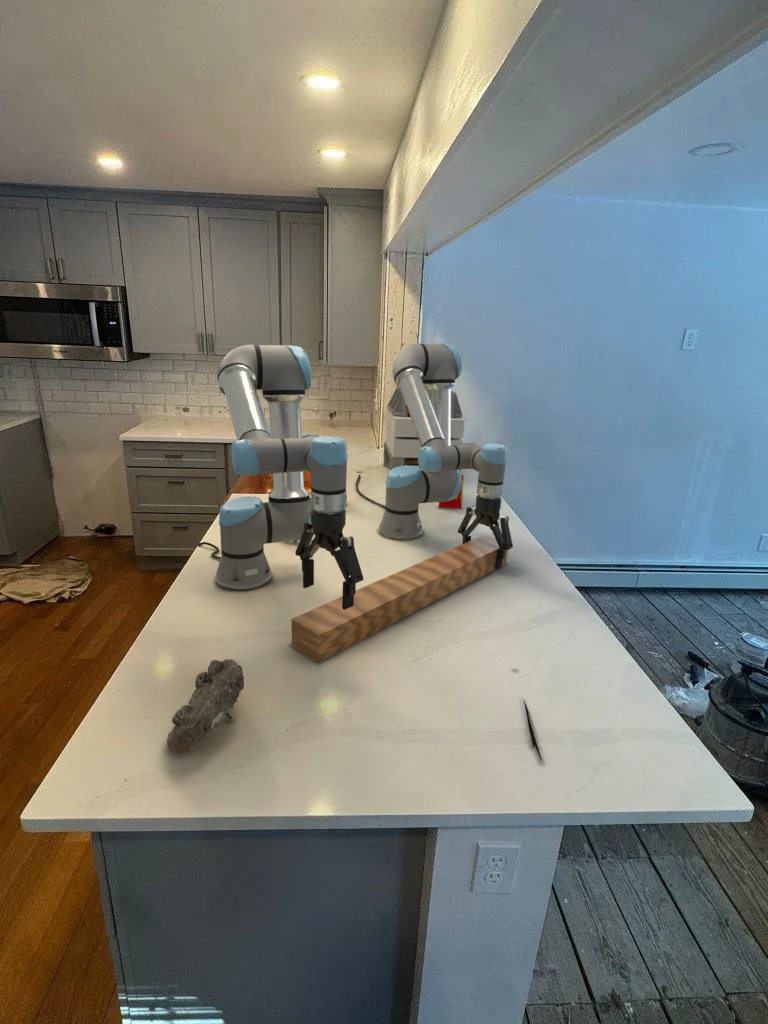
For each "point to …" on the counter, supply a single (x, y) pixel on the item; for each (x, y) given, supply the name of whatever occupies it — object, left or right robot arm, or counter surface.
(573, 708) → the counter surface
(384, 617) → the wooden beam
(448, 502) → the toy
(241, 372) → the left robot arm
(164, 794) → the counter surface
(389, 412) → the grey wooden crate
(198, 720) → the fossil
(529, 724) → the feather
